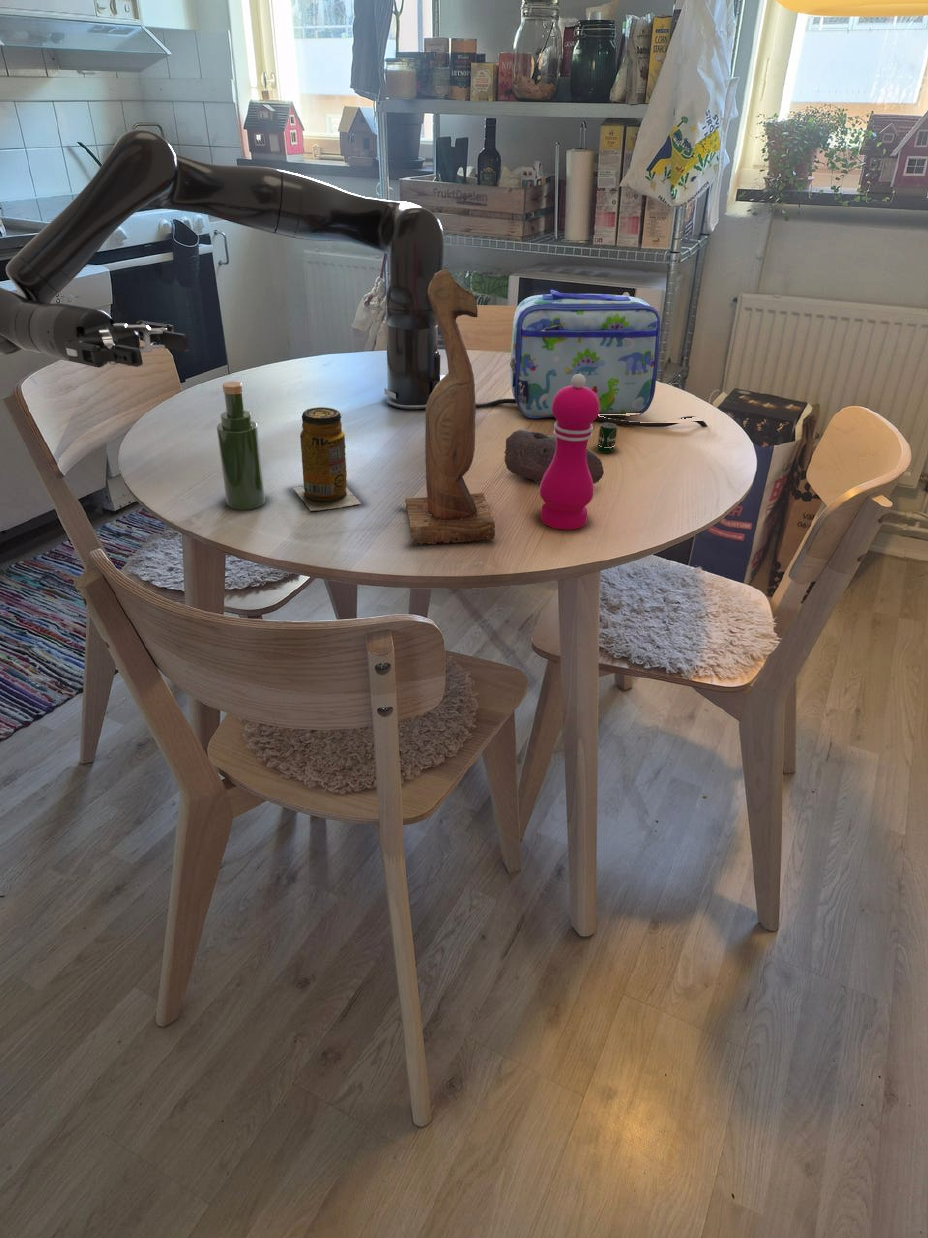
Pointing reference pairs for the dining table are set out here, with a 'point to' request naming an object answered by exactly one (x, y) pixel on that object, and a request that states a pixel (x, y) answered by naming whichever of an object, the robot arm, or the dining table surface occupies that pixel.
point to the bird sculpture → (450, 433)
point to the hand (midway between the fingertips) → (164, 350)
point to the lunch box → (584, 351)
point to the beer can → (607, 437)
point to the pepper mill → (570, 458)
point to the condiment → (324, 461)
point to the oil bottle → (240, 452)
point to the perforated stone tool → (539, 455)
